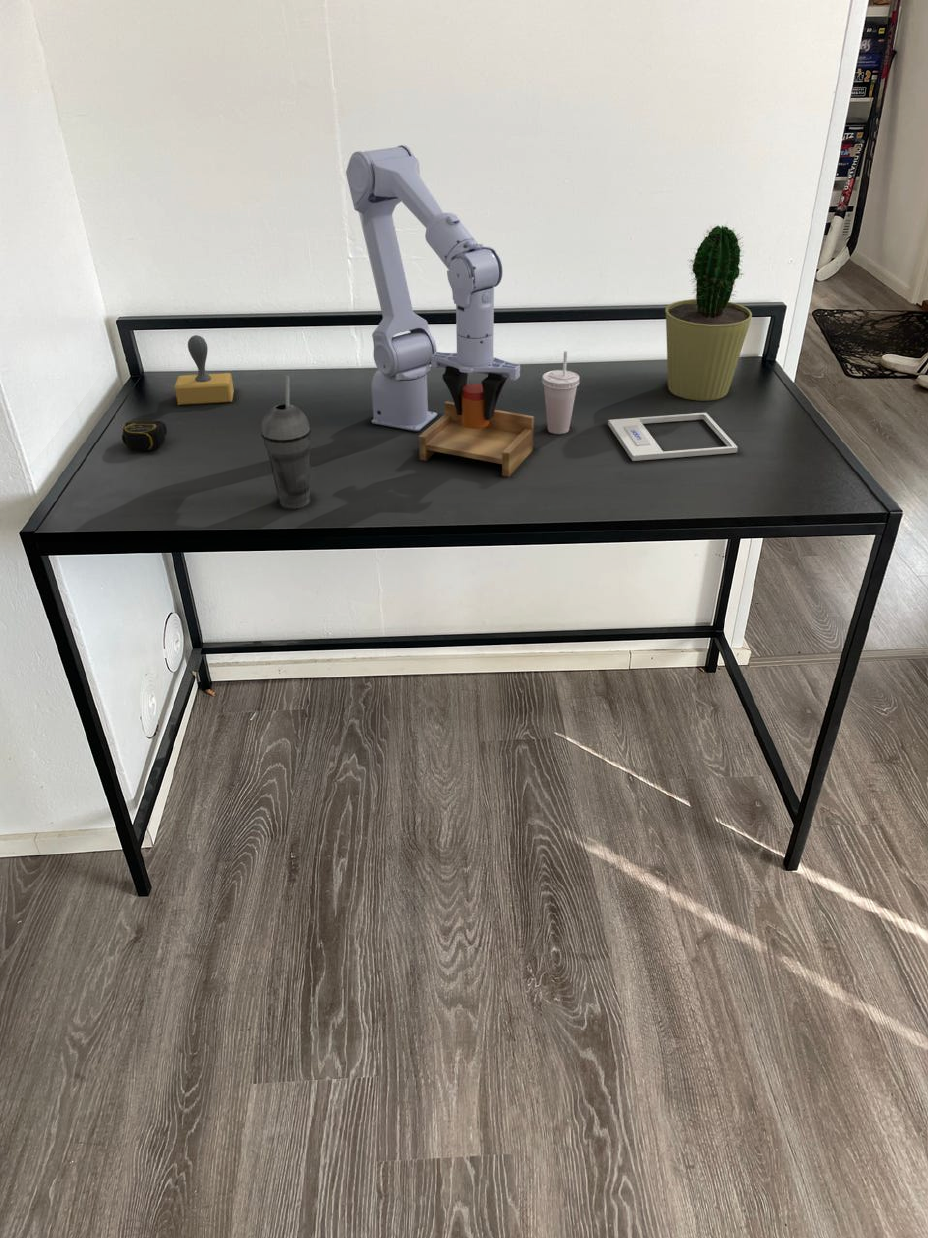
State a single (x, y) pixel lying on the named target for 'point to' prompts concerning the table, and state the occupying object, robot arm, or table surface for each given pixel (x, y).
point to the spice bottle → (473, 407)
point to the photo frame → (646, 447)
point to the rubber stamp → (203, 380)
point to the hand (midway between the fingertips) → (475, 415)
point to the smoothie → (560, 397)
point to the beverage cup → (288, 452)
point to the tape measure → (144, 434)
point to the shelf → (481, 438)
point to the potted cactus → (707, 322)
